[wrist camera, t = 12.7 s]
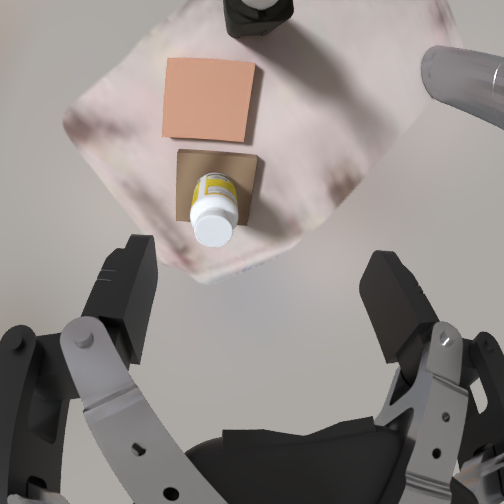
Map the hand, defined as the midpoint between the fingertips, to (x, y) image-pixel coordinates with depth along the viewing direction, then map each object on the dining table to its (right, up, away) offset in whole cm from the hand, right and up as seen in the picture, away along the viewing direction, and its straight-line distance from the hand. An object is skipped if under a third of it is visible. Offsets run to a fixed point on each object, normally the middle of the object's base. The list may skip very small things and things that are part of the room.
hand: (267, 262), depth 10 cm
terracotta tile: (-6, +19, +20) cm, 28 cm away
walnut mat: (-6, +9, +28) cm, 30 cm away
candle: (-1, +27, +15) cm, 31 cm away
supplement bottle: (-5, +9, +27) cm, 29 cm away
